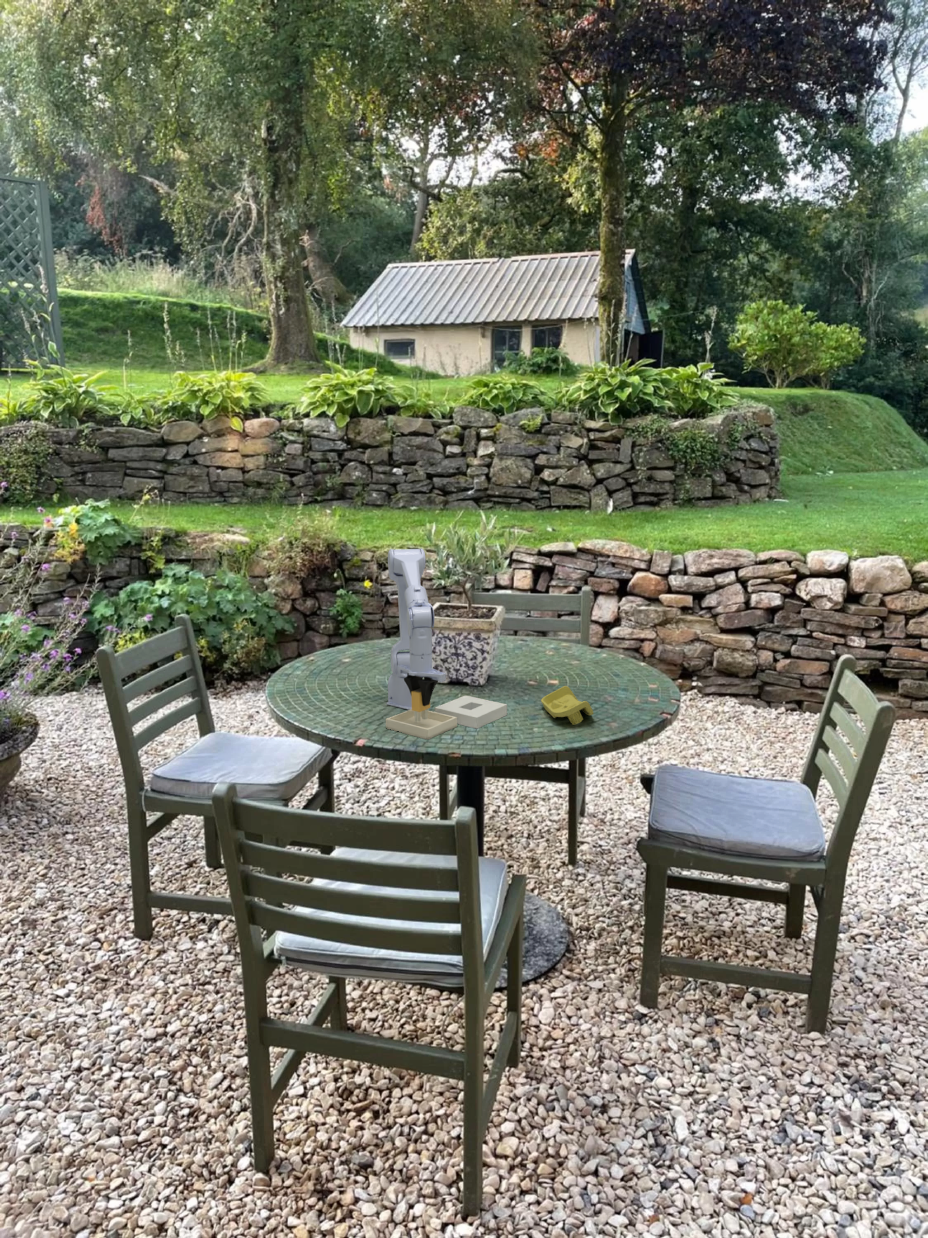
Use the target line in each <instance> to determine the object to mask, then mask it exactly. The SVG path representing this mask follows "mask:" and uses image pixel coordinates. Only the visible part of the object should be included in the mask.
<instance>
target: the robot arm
mask: <svg viewBox="0 0 928 1238" xmlns="http://www.w3.org/2000/svg"><path fill="white" fill-rule="evenodd" d="M387 566H388V567H387V568H388V577H389V580H391V581H394V582H395V585H396V588H397V600H398V601H397V603H398V604H397V605H398V620H399V622H398V623H399V624H398V625H399V640H398V641H396V643H394V644H393V645H391V646H392V647H391V649H390V670H391V672H392V673H391V674H390V676H389V678H388V680H387V702H386V703H385V704H386V705H388V706H391V707H396V708H400V709H404V710H407V711H408V710H410V709H412V696H411V692H412V691H414V690H416V689H419V688H421V693H422V704H423V706H427V705H429V704H430V705H431V699H432V695H433V692H434V690H435V687H436V685H437V683H441V682H442V683H443V682H445V681H447V679H446V677H447V675H446V672H442V671H440V670H437V669H435V668H433V630H432V629H434V627H435V621H436V619H435V610H434V607H433V605H432V603H429V598H428V593H427V589H426V587H424V586H422V585H421V579H422V577H423V575H424V571H425V569H426V553H425V550H424V549H423V548H422V547H420V548H410V549H407V548H406V549H405V548H404V549H400V548H399V549H393V548H390V549H389V550H388V552H387Z"/></svg>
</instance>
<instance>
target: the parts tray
mask: <svg viewBox="0 0 928 1238" xmlns="http://www.w3.org/2000/svg"><path fill="white" fill-rule="evenodd" d="M457 727H458V724H457V717H453V716H449V715H445V714H441V713H436V712H435V711H432V710H428V718H427V719H422V711H421V712H420V722H418V723H417V722H415V720H414V711H413V710H412V709H410V710H408V709H407V710H405V711H403V712H400V713H398V714H395V715H392V716H389V717H387V718H385V729H386V728H387V730H390V729H391V731H393V730H394V732H397V731H399V732H398V733H401V732H402V734H405V735H409V736H413V737H416V738H421V739H424V740H430V739H433V738H436V737H437V736H439V735H442V734H444V733H447V732H449V731H451V730H453V729H455V728H457Z"/></svg>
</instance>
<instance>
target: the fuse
mask: <svg viewBox="0 0 928 1238" xmlns="http://www.w3.org/2000/svg"><path fill="white" fill-rule="evenodd" d="M411 696H412V710H413V711H414V720H415V722H417V723H418V722H420V712H421V711H422V719H427V718H428V711H429V709H430V708H431V703H430V704H429V705H427V706H423V704H422V693H421V688H419V689H416V690H414V691H412V692H411Z"/></svg>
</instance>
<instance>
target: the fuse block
mask: <svg viewBox="0 0 928 1238" xmlns="http://www.w3.org/2000/svg"><path fill="white" fill-rule="evenodd" d="M434 712H436V713H441V714H445V715H449V716H453V717H457V725H460V726H465V727H469V728H471V729H472V728H473V729H480V728H482V727H484V726H486V725H488V724H490V723H492V722H495V721H497V720H499V719H501V718H504V717H506V716H507V715H508V704H507V703H502V702H498V701H492V700H487V699H483V698H479V697H475V696H470V695H463V696H460V697H457V698H455V699H453V700H450V701H448V702H446V703H442V704H440V705H438V706H435V707H434Z"/></svg>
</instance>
